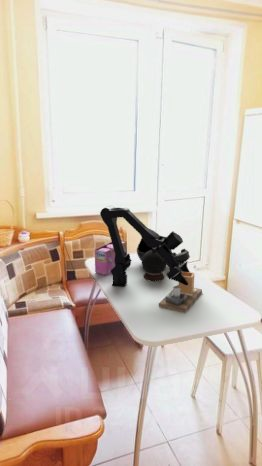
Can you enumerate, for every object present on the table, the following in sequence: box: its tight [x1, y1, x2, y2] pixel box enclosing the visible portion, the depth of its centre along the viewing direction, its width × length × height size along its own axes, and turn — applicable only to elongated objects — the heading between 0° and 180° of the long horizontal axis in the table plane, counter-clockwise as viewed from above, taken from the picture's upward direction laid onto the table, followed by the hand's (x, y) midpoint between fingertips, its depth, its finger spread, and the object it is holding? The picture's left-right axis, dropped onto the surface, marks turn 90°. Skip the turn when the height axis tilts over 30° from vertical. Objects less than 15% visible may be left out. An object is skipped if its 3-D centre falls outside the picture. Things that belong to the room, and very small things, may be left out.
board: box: [158, 284, 203, 314], centre depth 149 cm, size 23×12×2 cm, turn 152°
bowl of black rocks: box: [136, 237, 173, 262], centre depth 190 cm, size 20×20×19 cm
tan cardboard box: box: [178, 271, 196, 294], centre depth 153 cm, size 6×6×8 cm
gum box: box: [94, 240, 128, 276], centre depth 187 cm, size 24×8×14 cm, turn 151°
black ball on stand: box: [141, 250, 167, 282], centre depth 173 cm, size 13×13×15 cm
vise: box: [165, 285, 187, 306], centre depth 144 cm, size 7×10×6 cm
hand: (189, 281), depth 153 cm, fingers open, 9 cm apart
